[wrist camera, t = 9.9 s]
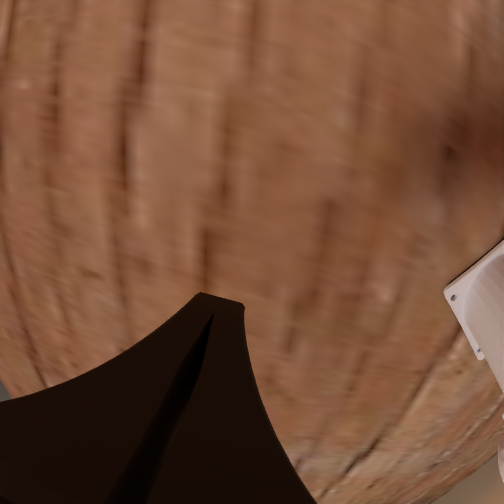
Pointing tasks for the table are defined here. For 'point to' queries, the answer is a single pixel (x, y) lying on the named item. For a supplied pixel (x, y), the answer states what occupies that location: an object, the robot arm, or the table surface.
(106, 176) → the table surface
